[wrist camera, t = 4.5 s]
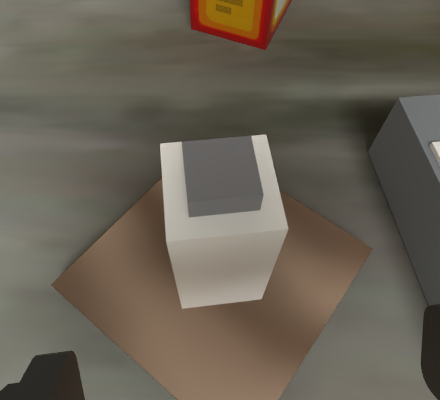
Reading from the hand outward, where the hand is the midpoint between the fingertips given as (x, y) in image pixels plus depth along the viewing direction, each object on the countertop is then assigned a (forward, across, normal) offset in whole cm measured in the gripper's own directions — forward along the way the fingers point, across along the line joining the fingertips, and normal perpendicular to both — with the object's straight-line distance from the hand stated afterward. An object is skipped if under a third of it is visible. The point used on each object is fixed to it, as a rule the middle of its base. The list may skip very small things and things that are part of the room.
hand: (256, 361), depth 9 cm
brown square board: (+12, 0, +4) cm, 13 cm away
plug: (+11, 0, +3) cm, 12 cm away
